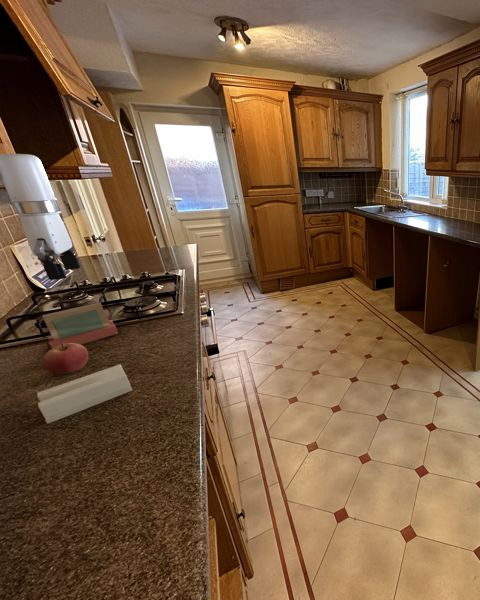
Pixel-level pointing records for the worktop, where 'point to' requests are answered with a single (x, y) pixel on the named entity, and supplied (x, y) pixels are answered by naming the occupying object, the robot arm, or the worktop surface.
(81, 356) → the apple
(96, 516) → the worktop surface
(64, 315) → the frame
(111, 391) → the holder
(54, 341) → the stand
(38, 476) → the worktop surface
